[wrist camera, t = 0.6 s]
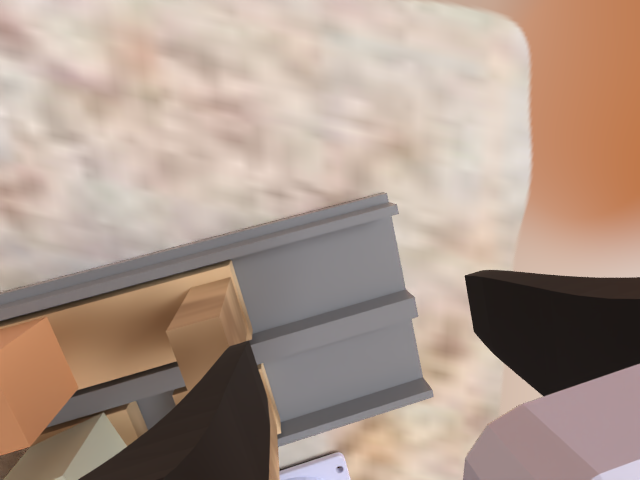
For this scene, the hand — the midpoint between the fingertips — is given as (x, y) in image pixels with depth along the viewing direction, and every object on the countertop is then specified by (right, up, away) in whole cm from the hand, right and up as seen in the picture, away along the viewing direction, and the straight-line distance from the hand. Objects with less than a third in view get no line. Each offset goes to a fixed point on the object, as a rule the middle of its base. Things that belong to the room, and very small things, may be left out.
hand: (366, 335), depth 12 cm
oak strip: (-12, -1, +9) cm, 15 cm away
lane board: (-7, -3, +10) cm, 12 cm away
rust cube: (-16, -3, +6) cm, 18 cm away
